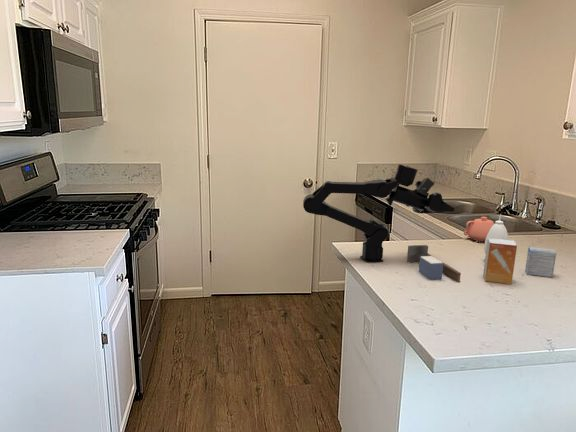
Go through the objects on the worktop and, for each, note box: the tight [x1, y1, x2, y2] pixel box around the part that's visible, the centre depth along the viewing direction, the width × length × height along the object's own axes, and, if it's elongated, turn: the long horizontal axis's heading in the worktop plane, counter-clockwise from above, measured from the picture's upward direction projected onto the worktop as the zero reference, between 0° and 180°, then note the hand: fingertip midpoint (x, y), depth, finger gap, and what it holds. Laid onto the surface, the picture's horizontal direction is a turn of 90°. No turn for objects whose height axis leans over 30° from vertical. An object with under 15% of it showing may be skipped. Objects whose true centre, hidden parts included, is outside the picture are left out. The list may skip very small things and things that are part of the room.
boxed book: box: [418, 255, 444, 281], centre depth 153 cm, size 4×8×6 cm, turn 12°
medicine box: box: [525, 246, 557, 278], centre depth 157 cm, size 8×4×9 cm, turn 71°
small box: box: [482, 238, 518, 285], centre depth 150 cm, size 8×6×13 cm
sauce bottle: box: [484, 213, 510, 255], centre depth 168 cm, size 8×8×18 cm
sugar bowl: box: [463, 216, 495, 243], centre depth 199 cm, size 12×14×10 cm
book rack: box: [406, 244, 462, 283], centre depth 158 cm, size 8×22×6 cm, turn 12°
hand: (448, 210), depth 165 cm, fingers open, 9 cm apart
